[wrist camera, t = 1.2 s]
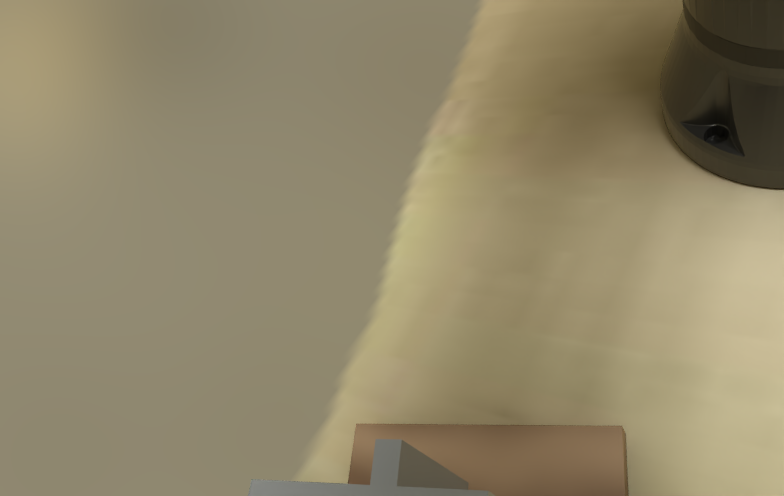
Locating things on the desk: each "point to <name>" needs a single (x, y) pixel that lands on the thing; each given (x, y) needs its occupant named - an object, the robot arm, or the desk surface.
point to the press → (382, 478)
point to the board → (510, 456)
